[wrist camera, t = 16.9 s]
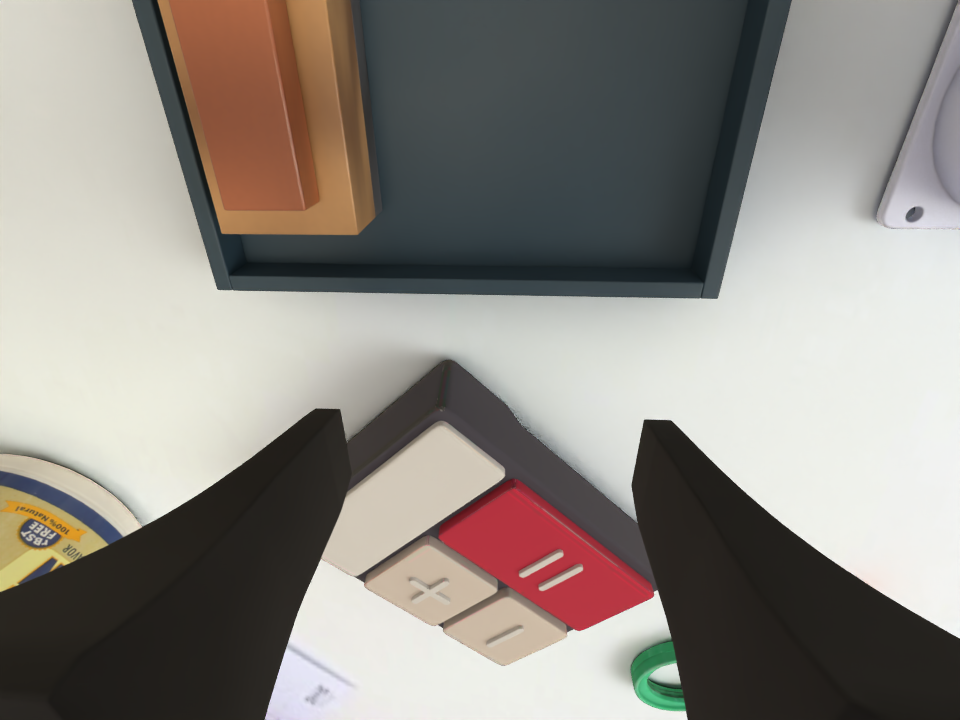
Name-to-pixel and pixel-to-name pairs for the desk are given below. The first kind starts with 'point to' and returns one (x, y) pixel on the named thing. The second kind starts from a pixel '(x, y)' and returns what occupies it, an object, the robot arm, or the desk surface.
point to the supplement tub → (52, 518)
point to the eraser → (279, 112)
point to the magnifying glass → (650, 690)
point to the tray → (528, 149)
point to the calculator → (482, 524)
